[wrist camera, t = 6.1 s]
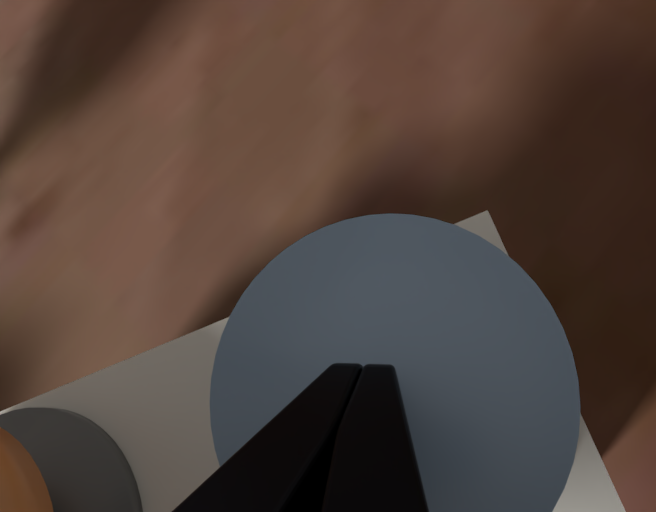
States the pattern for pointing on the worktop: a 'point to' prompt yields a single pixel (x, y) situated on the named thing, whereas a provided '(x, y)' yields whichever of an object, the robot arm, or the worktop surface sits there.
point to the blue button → (413, 354)
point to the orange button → (20, 479)
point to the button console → (183, 430)
